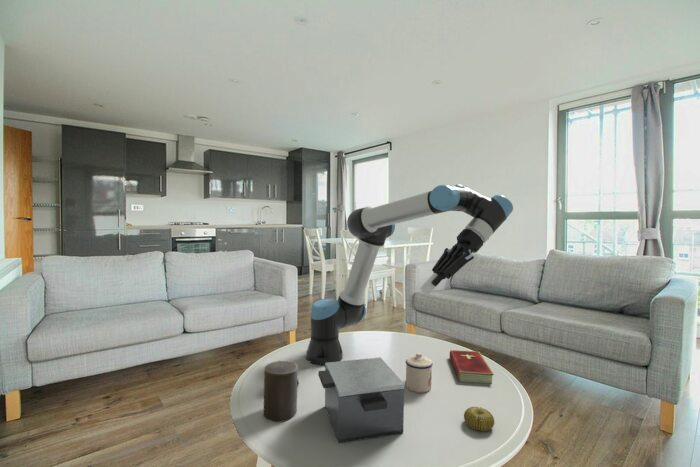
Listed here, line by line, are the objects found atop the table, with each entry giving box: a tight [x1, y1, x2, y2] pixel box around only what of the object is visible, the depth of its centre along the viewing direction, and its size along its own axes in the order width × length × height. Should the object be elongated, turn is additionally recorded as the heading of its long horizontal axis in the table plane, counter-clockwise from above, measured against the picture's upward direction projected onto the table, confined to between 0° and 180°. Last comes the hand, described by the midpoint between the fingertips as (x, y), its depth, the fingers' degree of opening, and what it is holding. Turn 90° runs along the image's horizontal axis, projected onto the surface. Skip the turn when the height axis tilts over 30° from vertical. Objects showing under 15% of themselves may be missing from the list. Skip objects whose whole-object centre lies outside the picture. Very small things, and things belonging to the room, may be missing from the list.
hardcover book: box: [449, 349, 495, 384], centre depth 132 cm, size 12×21×4 cm, turn 172°
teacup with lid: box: [405, 352, 433, 393], centre depth 119 cm, size 12×9×12 cm
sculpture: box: [463, 406, 495, 432], centre depth 96 cm, size 8×4×8 cm
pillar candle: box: [263, 360, 299, 423], centre depth 101 cm, size 10×10×15 cm
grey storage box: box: [324, 367, 405, 444], centre depth 98 cm, size 24×18×12 cm
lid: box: [317, 356, 405, 397], centre depth 97 cm, size 18×21×1 cm
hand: (424, 291), depth 102 cm, fingers closed
